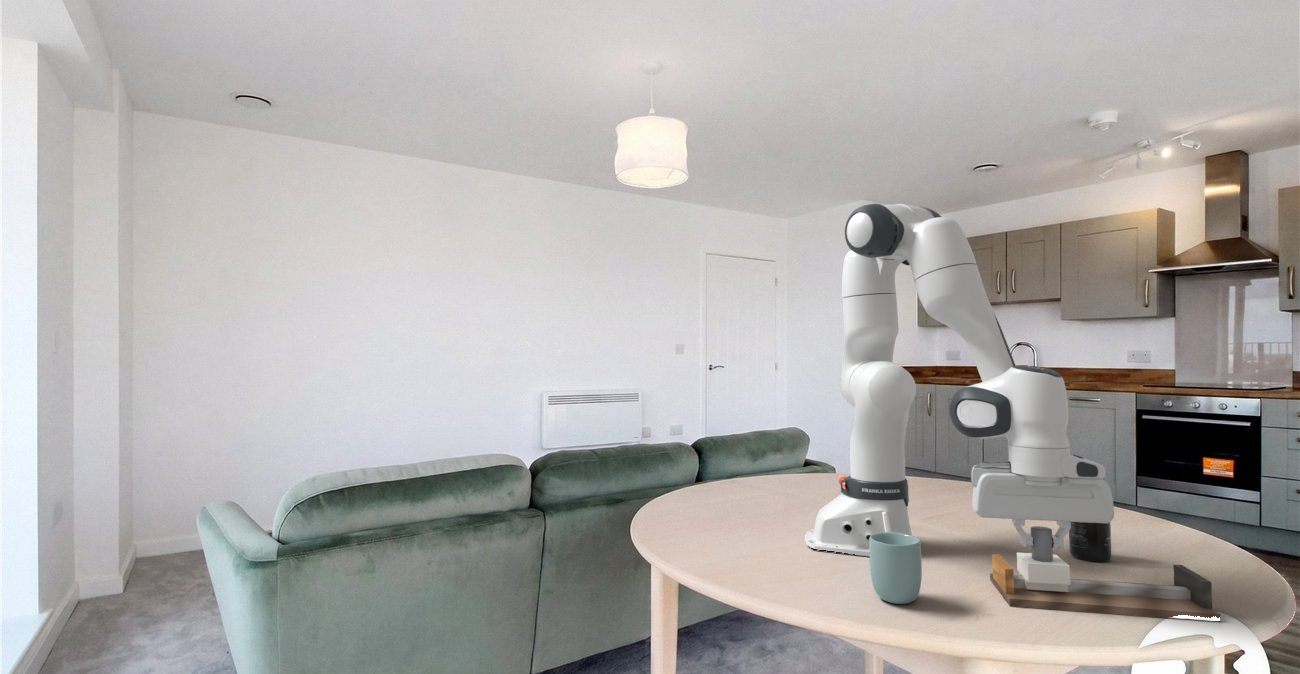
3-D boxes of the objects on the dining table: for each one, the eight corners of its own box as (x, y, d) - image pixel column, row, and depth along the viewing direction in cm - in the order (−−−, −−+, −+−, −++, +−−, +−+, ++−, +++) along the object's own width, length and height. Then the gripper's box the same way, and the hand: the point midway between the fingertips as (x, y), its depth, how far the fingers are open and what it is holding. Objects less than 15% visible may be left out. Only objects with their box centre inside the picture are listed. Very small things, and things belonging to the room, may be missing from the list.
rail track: (1009, 606, 100) (1008, 573, 101) (990, 580, 112) (989, 550, 112) (1221, 622, 93) (1219, 586, 93) (1176, 592, 105) (1175, 561, 105)
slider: (1028, 591, 102) (1026, 532, 103) (1017, 579, 108) (1015, 523, 109) (1070, 594, 101) (1068, 534, 101) (1057, 581, 107) (1055, 524, 107)
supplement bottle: (1119, 563, 120) (1116, 499, 120) (1079, 562, 121) (1076, 498, 121) (1101, 552, 126) (1098, 492, 127) (1063, 551, 128) (1061, 491, 128)
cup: (896, 612, 99) (894, 547, 99) (861, 595, 106) (859, 535, 106) (933, 604, 102) (931, 541, 102) (896, 588, 109) (894, 529, 109)
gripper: (975, 463, 105) (977, 548, 105) (1117, 467, 100) (1120, 556, 99) (966, 458, 111) (968, 537, 111) (1099, 461, 106) (1102, 545, 105)
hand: (1041, 546), depth 105 cm, fingers closed on slider, 3 cm apart
